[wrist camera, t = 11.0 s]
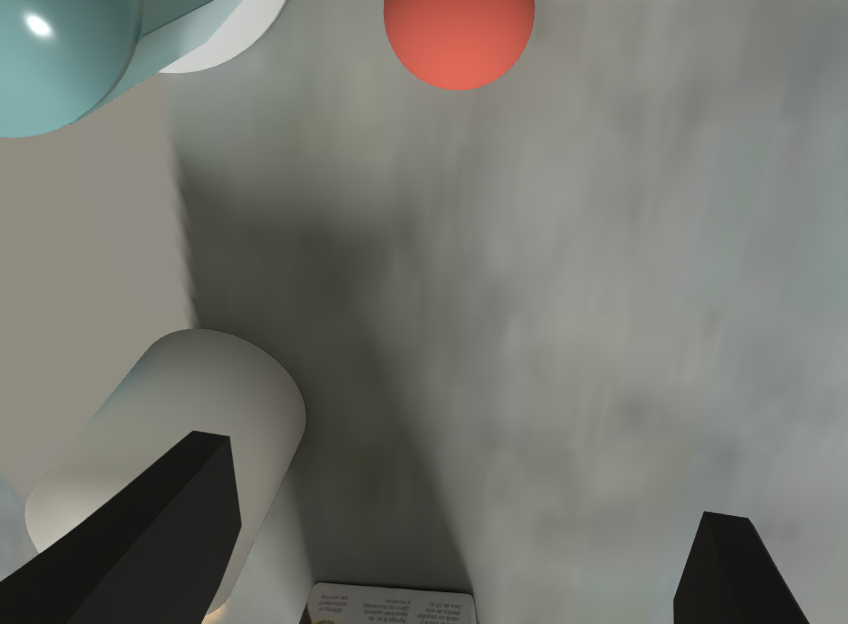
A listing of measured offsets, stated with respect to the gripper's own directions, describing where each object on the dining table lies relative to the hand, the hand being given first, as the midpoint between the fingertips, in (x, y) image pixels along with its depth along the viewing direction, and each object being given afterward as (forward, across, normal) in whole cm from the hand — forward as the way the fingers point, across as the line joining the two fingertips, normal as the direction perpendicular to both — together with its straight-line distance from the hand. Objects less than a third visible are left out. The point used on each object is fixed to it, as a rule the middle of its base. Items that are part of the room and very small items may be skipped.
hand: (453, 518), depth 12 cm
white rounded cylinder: (+10, +8, +7) cm, 15 cm away
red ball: (+8, +1, -6) cm, 10 cm away
